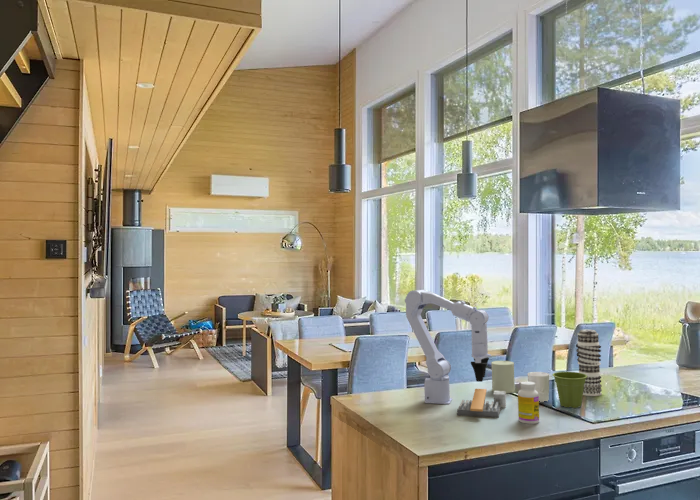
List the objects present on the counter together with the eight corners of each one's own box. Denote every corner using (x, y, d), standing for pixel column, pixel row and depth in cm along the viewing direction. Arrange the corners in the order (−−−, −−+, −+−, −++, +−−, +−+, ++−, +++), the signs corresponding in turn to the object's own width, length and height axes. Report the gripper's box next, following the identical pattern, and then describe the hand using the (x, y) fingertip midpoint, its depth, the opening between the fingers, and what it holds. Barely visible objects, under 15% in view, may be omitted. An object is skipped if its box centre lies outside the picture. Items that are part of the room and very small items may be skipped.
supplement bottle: (536, 425, 184) (535, 385, 184) (516, 423, 188) (514, 384, 188) (541, 420, 190) (540, 381, 190) (521, 417, 193) (520, 380, 193)
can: (518, 389, 234) (517, 360, 234) (511, 394, 226) (510, 364, 227) (496, 387, 239) (495, 358, 239) (488, 392, 231) (487, 362, 232)
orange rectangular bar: (470, 412, 194) (470, 408, 194) (475, 392, 209) (475, 388, 209) (482, 413, 193) (482, 409, 192) (486, 393, 208) (486, 389, 207)
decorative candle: (590, 397, 218) (588, 332, 218) (572, 392, 226) (570, 329, 227) (608, 394, 222) (605, 330, 222) (589, 389, 230) (587, 328, 231)
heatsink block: (457, 415, 198) (457, 404, 198) (461, 408, 208) (460, 397, 208) (498, 417, 194) (498, 406, 194) (500, 410, 203) (500, 399, 203)
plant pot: (548, 406, 206) (547, 375, 207) (561, 400, 215) (560, 370, 215) (581, 412, 198) (579, 379, 199) (593, 404, 207) (592, 374, 207)
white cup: (551, 403, 211) (550, 376, 212) (529, 402, 213) (528, 375, 213) (548, 397, 219) (547, 372, 219) (527, 397, 221) (526, 371, 221)
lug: (493, 408, 205) (493, 393, 206) (494, 405, 210) (494, 390, 210) (505, 409, 204) (504, 394, 204) (506, 405, 209) (505, 391, 209)
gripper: (488, 345, 203) (489, 383, 202) (492, 339, 216) (493, 375, 216) (468, 345, 205) (469, 382, 205) (473, 339, 219) (474, 374, 218)
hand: (480, 379), depth 211 cm, fingers open, 7 cm apart
